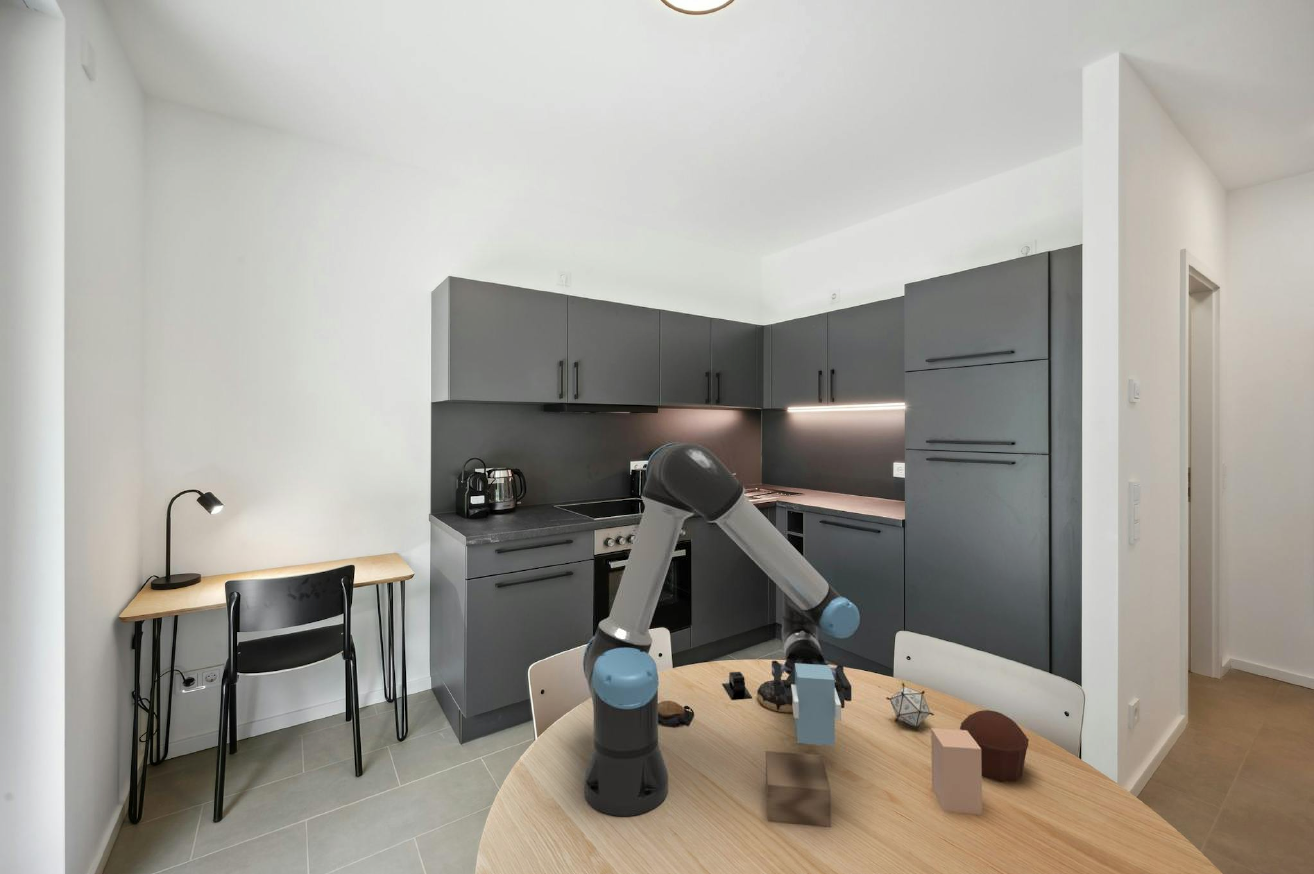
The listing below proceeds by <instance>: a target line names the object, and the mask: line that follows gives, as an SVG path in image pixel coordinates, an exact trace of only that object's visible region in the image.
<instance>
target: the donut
mask: <svg viewBox="0 0 1314 874" xmlns="http://www.w3.org/2000/svg"><path fill="white" fill-rule="evenodd" d="M785 681H786V679H782V678H781V683H783V684H784V682H785ZM756 692H757V693H756V696H757V698H758V701H759V703H760V704H761V705H762V706H763V707H765V708H766V709H769V710H772V711H773V712H774V711H775V712H779V713H787V714H788V713H793V708H792V704H786V702H785V701H784V695H783V694H781V695H780V696H775V695H774V679H773V680H767V681H764V682H762V683H761V684H760V685H759V687H758V689H757V691H756Z"/></svg>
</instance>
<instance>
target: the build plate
mask: <svg viewBox="0 0 1314 874" xmlns="http://www.w3.org/2000/svg"><path fill="white" fill-rule="evenodd" d="M744 676H745V675H743V673H742V672H741V671H733V672H729V674H728V682H725V683H724V682H723V683H721V686H722V687H723V688H724V691H725V692H726V694H727V695H728V697H729V698H730V700H731V701H737V700H738V701H740V700H751V699H753V696H752V695H751V693H750V692H749V690H748V689H747V687H746V681H745V680H746V679H745V677H744Z"/></svg>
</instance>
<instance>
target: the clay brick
mask: <svg viewBox="0 0 1314 874" xmlns="http://www.w3.org/2000/svg"><path fill="white" fill-rule="evenodd" d="M930 734H931V735H930V738H931V739H930V742H931V744H930V745H931V747H930V749H931V754H930V756H931V790H932V792H933V794H934V796H935V798H936V799H937V802H938V803H939V805H940V807H941V809H942V811H943V812H945V813H946V812H947V813H956V814H957V813H958V814H970V815H981V816H983V791H982V790H983V789H982V788H983V787H982V785H983V783H982V780H983V778H982V777H983V776H982V767H981V748H980V747H979V745H978V744H977V743H976V741H975V740H974V739H973V738H972V736H971V735H970V734H969V732H968V731H967V730H960V729H951V728H950V729H949V728H935V727H931V728H930Z"/></svg>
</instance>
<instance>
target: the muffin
mask: <svg viewBox="0 0 1314 874" xmlns="http://www.w3.org/2000/svg"><path fill="white" fill-rule="evenodd" d="M959 730H967V731H968V732H969V734H970V735H971V736H972V738H973V739H974V740H975V741H976V743H977V744H978V745H979V747H980V748H981V767H982V777H983V778H985V779H991V780H994V781H997V782H1000V783H1001V782H1002V783H1003V782H1004V783H1005V782H1009V783H1010V782H1013V783H1014V782H1017V781H1018V779H1020V778H1021V777H1022V776H1023V772H1024V766H1025V761H1026V755H1027V750H1028V747H1029V738H1028V737H1027V736H1026V734H1025V733H1024V731H1023V730H1022V728H1021V727H1020V726H1019V725H1018V724H1017V722H1015V721H1014V720H1013V719H1012V718H1010V717H1008V716H1007V715H1005V714H1003V713H1001V712H999V711H995V710H989V709H985V710H984V709H983V710H978V711H975V712H974V713H971V714H969V715H968V716H967V717H966V718H965V719H964V720H963V721H961V723H960V726H959Z"/></svg>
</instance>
